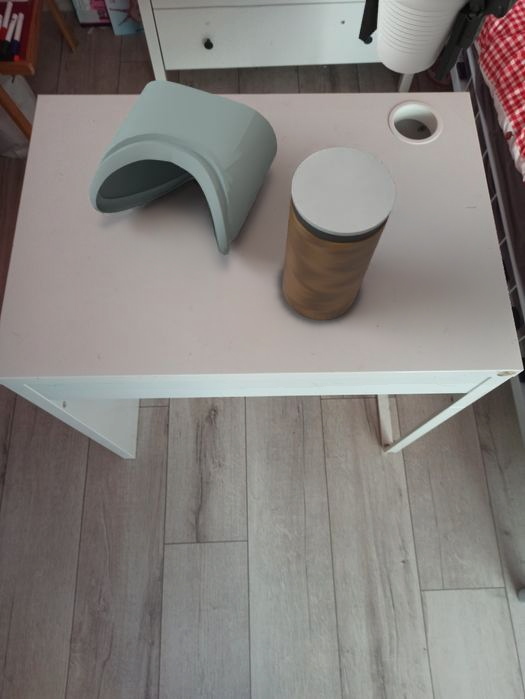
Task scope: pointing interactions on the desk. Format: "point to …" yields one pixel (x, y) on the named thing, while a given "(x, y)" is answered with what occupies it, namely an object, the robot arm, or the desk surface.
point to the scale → (342, 194)
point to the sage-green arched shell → (187, 155)
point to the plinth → (323, 270)
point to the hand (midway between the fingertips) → (405, 51)
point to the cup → (414, 32)
